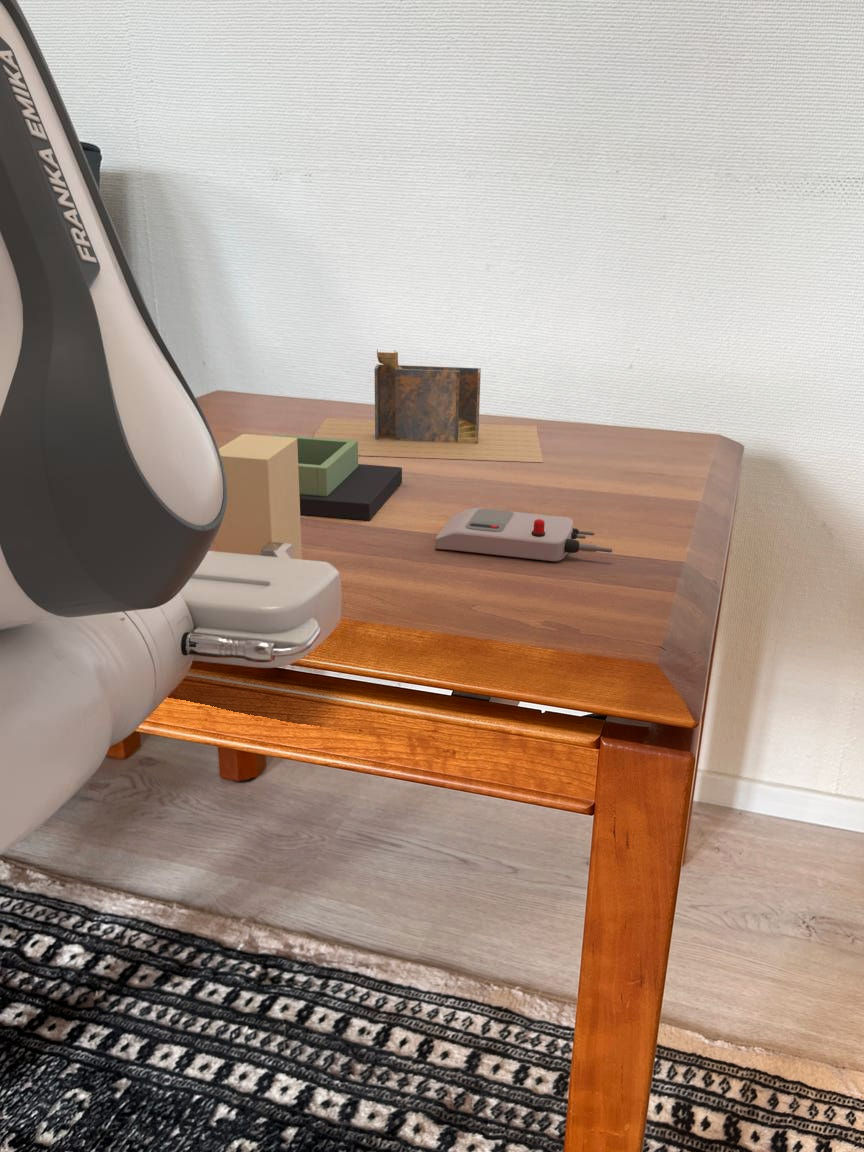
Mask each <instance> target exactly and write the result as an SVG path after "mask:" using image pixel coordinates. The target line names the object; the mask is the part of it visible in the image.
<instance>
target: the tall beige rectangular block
mask: <svg viewBox="0 0 864 1152" xmlns="http://www.w3.org/2000/svg"><path fill="white" fill-rule="evenodd" d="M218 449H219V452H220V456H221V459H222V463H223V467H224V471H225V477H226V485H227V504H226V510H225V513H224V516H223V519H222V522H221V525H220V528H219V530H218V532H217V535H216V537H215V539H214V541H215V549H216V550H215V551H217V552H228V553H238V554H249V555H259V556H261V549H262V548H263V547H264V546H266V545H267V543H268V542H278V543H289V544H293V546H294V559H301V560H303V551H302V550H303V548H302V547H303V546H302V527H301V526H302V525H301V514H300V497H299V472H298V447H297V438H290V437H277V436H275V435H264V434H263V435H262V434H250V433H242V434H241V435H239V436H237V437H236V438H234V439H232V440H230V441H229V442H228V443H226V444H224V445H223V446H221V447H220V448H219V447H218Z"/></svg>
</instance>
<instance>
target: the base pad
mask: <svg viewBox="0 0 864 1152" xmlns="http://www.w3.org/2000/svg"><path fill="white" fill-rule="evenodd" d="M274 436H277V437H290V438H297V447H298V472H299V497H300V516H301V515H303V516H313V517H324V518H325V517H326V518H334V519H335V518H337V519H347V520H357V521H359V520H360V521H370V520H371V519H372V518H373V517H374V516H375V515H376V514H377V513H378V511H379V510H380V509H381V507H382V506H383V505H384V504H385V503H386V501H388V499H389V498H390V497H391V496H392V495H393V494H394V492H395V491H396V490H397V489H398V488H399V486H400V485H401V484H402V483H403V467H401V466H389V465H388V466H387V465H377V464H375V465H374V464H363V463H359V456H358V441H356V440H343V439H330V438H317V437H313V436H304V435H303V436H302V435H288V434H275V435H274Z"/></svg>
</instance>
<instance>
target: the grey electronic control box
mask: <svg viewBox="0 0 864 1152" xmlns="http://www.w3.org/2000/svg"><path fill="white" fill-rule="evenodd" d="M587 536H595V532H594V531H588V530H587V531H586V530H580V529H579V528H575V527H574V520H573V519H572V518H570V517H569V516H559V515H558V516H557V515H550V514H549V515H548V514H538V513H531V512H530V513H528V512H518V511H509V510H502V509H492V508H491V509H489V508H480V507H479V508H478V507H473V508H468V509H465V510H463V511H460V512H458V513H455V514H454V515H452V517H451V518H450V519H449V520H448V522H446V524H445V525H444V526H443V528H442V529H441V530H440V531H439V532H438V534H437V535H436V537H435V540H434V549H436V550H445V551H455V552H456V551H457V552H466V553H474V554H484V555H490V556H491V555H492V556H501V557H510V558H520V559H529V560H536V561H537V560H539V561H546V562H560V561H562V560H563V559H565V557H566V556H567V555H568V553H569V554H575V553H578V552H579V551H580V552H581V551H582V552H591V553H596V552H602V553H612V552H613V548H610V547H603V546H598V545H596V544H595V545H594V544H585V543H580V542H579V540H576V539H582V540H586V538H587Z"/></svg>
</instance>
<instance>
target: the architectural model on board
mask: <svg viewBox="0 0 864 1152" xmlns="http://www.w3.org/2000/svg"><path fill="white" fill-rule="evenodd" d="M376 359H377V362H378V363H377V364H376V365H375V367H374V419H360V418H359V419H358V418H357V419H356V418H333V417H332V418H329V417H326V418H324V419H323V421H322V423H321V424H320V426H319V427H318V429H317V430H316V432H315V434H314V435H313V436H312V437H317V438H330V439H343V440H356V441H358V457H359V456H363V457H384V458H385V457H390V458H417V459H441V460H465V461H466V460H467V461H468V460H469V461H492V462H493V461H494V462H495V461H496V462H522V463H544V460H543V454H542V449H541V448H542V447H541V443H540V437H539V432H538V431H539V430H538V427H537V425H521V424H520V425H518V424H517V425H516V424H494V423H493V424H491V423H489V424H487V423H480V402H481V401H480V400H481V373H482V368H481V367H461V366H459V367H458V366H457V367H456V366H455V367H454V366H435V365H434V366H433V365H432V366H431V365H430V366H429V365H408V364H407V365H406V364H399V352H397V351H396V350H394V352H388V351H386V352H385V351H384V352H383V351H378V349H376Z"/></svg>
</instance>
